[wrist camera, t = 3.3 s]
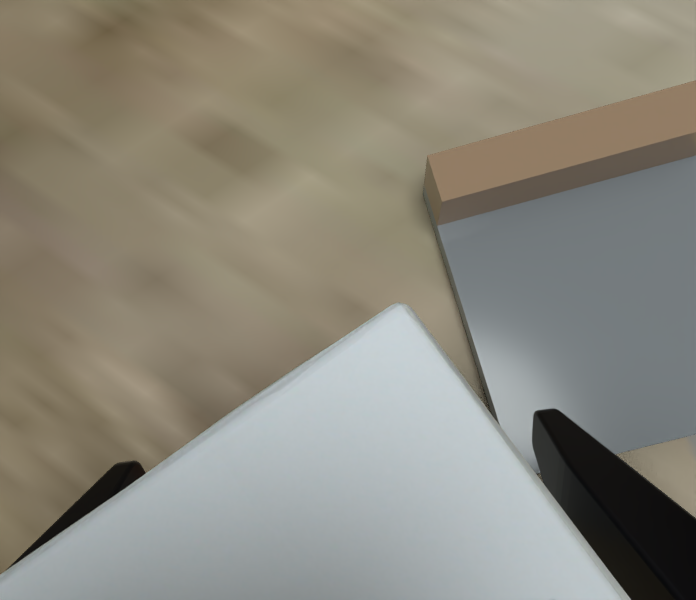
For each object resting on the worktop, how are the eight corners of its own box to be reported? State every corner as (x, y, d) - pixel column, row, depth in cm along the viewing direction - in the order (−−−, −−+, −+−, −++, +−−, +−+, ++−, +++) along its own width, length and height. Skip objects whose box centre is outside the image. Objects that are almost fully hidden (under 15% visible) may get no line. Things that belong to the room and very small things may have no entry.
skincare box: (404, 370, 16) (417, 276, 5) (482, 482, 15) (732, 704, 4) (255, 472, 16) (-110, 633, 5) (323, 592, 15) (77, 1186, 4)
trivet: (795, 404, 15) (884, 403, 12) (510, 475, 15) (534, 489, 13) (667, 126, 17) (717, 74, 15) (422, 194, 18) (427, 155, 15)
